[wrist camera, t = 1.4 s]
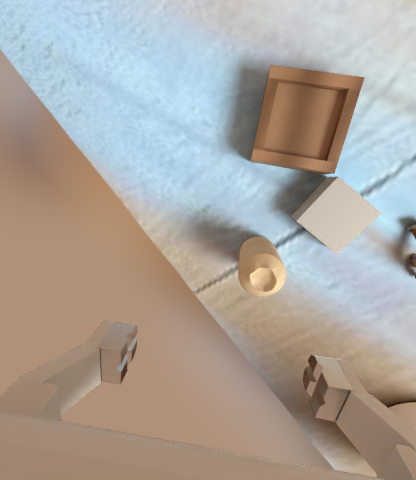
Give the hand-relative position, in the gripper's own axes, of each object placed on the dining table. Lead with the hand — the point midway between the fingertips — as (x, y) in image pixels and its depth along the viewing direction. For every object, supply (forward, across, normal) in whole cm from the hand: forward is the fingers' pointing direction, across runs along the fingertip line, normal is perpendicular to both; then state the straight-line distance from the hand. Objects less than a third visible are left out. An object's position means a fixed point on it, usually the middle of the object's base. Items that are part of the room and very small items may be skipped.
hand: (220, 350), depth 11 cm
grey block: (+25, +14, +3) cm, 29 cm away
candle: (+25, +6, -4) cm, 26 cm away
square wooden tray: (+26, +7, +13) cm, 30 cm away
